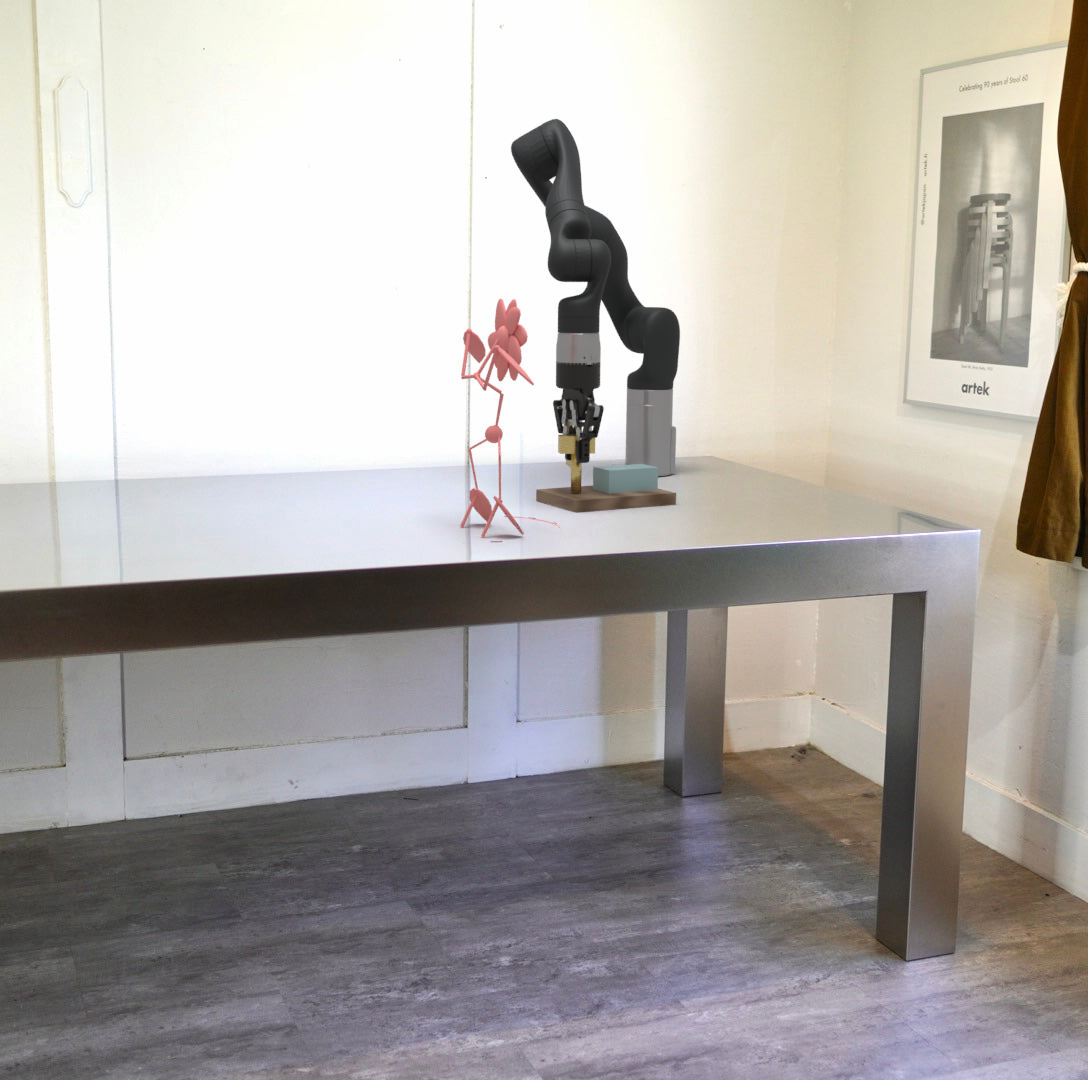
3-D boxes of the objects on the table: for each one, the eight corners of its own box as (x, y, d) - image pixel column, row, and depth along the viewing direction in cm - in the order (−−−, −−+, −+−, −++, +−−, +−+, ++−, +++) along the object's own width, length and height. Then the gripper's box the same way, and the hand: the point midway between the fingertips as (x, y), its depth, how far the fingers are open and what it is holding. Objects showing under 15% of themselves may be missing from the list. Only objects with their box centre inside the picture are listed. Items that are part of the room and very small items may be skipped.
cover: (640, 486, 239) (641, 463, 238) (657, 489, 234) (658, 467, 234) (592, 489, 234) (593, 466, 234) (608, 493, 230) (609, 470, 229)
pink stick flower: (497, 547, 191) (497, 299, 184) (438, 519, 214) (436, 297, 208) (594, 540, 197) (598, 299, 190) (526, 514, 220) (527, 298, 214)
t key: (553, 487, 235) (553, 431, 233) (586, 486, 236) (587, 431, 234) (559, 493, 228) (560, 436, 226) (594, 492, 229) (595, 436, 227)
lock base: (632, 493, 244) (632, 482, 243) (675, 504, 232) (676, 492, 231) (536, 500, 234) (536, 489, 234) (576, 512, 222) (576, 500, 222)
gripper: (539, 358, 230) (538, 458, 233) (579, 362, 218) (578, 467, 221) (576, 357, 233) (575, 455, 236) (618, 361, 221) (617, 464, 224)
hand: (577, 460), depth 229 cm, fingers closed on t key, 3 cm apart
